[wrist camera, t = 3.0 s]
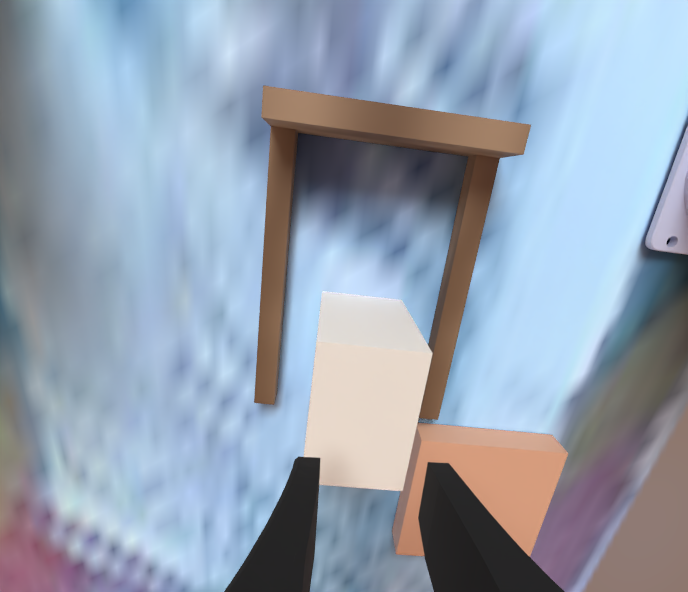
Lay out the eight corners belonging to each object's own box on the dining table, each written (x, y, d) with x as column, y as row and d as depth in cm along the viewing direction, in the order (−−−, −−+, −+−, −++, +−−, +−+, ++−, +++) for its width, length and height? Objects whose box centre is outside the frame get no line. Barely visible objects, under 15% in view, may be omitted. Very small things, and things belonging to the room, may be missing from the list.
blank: (401, 299, 18) (432, 353, 12) (382, 402, 20) (402, 491, 14) (322, 290, 18) (316, 341, 12) (310, 395, 20) (300, 483, 14)
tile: (551, 434, 21) (568, 453, 19) (515, 539, 23) (527, 563, 22) (415, 422, 20) (421, 440, 19) (392, 530, 23) (395, 554, 21)
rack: (495, 135, 16) (530, 124, 13) (432, 408, 20) (449, 446, 17) (276, 103, 15) (263, 85, 12) (258, 391, 19) (245, 428, 16)
